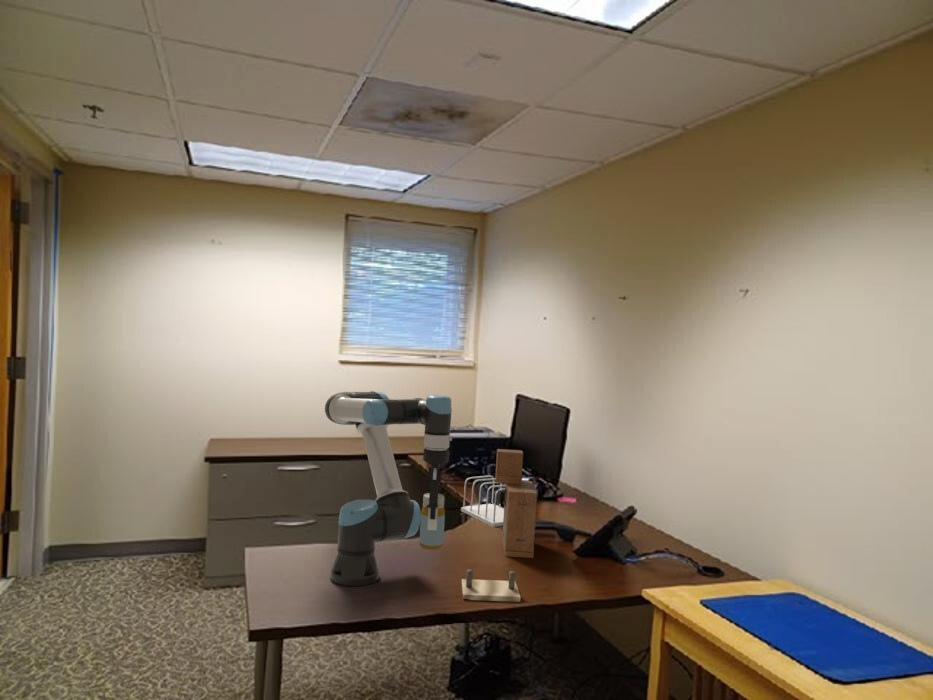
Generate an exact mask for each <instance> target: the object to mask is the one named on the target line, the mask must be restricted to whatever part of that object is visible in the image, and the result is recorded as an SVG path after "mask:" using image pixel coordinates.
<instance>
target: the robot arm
mask: <svg viewBox="0 0 933 700" xmlns="http://www.w3.org/2000/svg"><path fill="white" fill-rule="evenodd" d="M324 413H325V416H326V417H327V419H328V420H329V421H330V422H332V423H334V424H337V425H341V426H354V425H355V428H356V432H357V433H358V434H360V435H361V436H362V438H363V443H364V447H365V451H366V454H367V459H368V464H369V468H370V472H371V477H372V479H373V484H374V488H375V492H376V498H375V499H369V498H368V499H363V498H362V499H355V500H351V501H349V502H347V503H345V504H344V505H342V506H341V508H340V510H339V517H338V521H337V522H338V528H337V529H338V530H337V531H338V533H337V535H338V536H337V551H336V555H335V557H334V561H333V562H332V566H331V568H330V575H329V577H330V580H331V581H332V582H334V583H335V584H338V585H342V586H349V587H360V586H361V587H362V586H368V585H371V584H373V583H375V582H377V581H378V580H379V578H380V567H379V563H378V559H377V557H376V551H375V550H376V543H379V542H385V541H394V540H403V539H406V538H412V537H414V536H415V535H416V534H417V532H418V531H419V529H420V525H421V507H420V505H419V503H418V502H417V501H416V500H414V499H410V496H409V492H408V491H406V490H404V489H403V486H402V482H401V480H400V476H399V472H398V468H397V464H396V460H395V456H394V452H393V449H392V446H391V441H390V437H389V434H388V430H387V429H388V427H389V425H391V426H393V425H423V426H424V434H423V435H424V437H423V447H425V448H424V449H423V455H422V460H423V462H425V463H428V464H431V466H429V467H428V484H429V493H430V495H429V504H428V505H426V508H428V526H427V530H437V514H438V494H440V493H439V487H440V485H441V483H442V482H441V480H442V479H441V478H442V474H443V467H441V464H446V463H448V462H449V461H450V459H449V458H450V450H449V448H450V442H451V441H453V438H452V437H450V435H451V424H452V422H451V421H452V413H453V409H452V398H450V396H447V395H438V394H435V395H434V394H432V395H431V394H430V395H428V396H426V399H423V398H421V397H418V398H417V397H412V398H409V399H408V398H406V399H405V398H404V399H394V398H392V399H390V398H389V397H388V395H387V394H386V393H383V392H380V391H374V390H373V391H342V392H337V393H335V394H333V395H331V396H329V398H328V399H327V400H326V402H325V405H324Z"/></svg>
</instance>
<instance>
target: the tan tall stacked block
mask: <svg viewBox="0 0 933 700" xmlns="http://www.w3.org/2000/svg"><path fill="white" fill-rule="evenodd" d="M523 459H524V452H523V450H519V449H500V448H497V449H496V460H495V461H496V462H495V463H496V464H495V477H494V478H495V480H494V481H495V482H497V483H496V484H501V483H502V484H504V485H505V486H504V488H505V490H502V491H501V490H499V489H497V490H498V493H497V496H496V505H499V504H500V503H501V504H503V508H504V518H503V526H502V534H501V541H502V547H503V553H504V557H509V558H510V557H514V558H527V559H528V558H531V559H534V555H535V554H534V552H535V533H536V531H535V530H536V518H537V517H536V516H537V515H536V514H537V501H538V499H537V497H538V493H537V490H536V488H535V484H534V482H533V481H532V480H522V477H523V463H524V462H523V461H524V460H523Z"/></svg>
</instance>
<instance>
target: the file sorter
mask: <svg viewBox="0 0 933 700" xmlns="http://www.w3.org/2000/svg"><path fill="white" fill-rule="evenodd" d="M471 479H475V480H474V481H473V484H472V488H471V497H470V498H471V500H470V505H467V506H465V505H466V493H467V492H466V489H467V488H466V487H467V482H468V481H469V480H471ZM480 481H481V482H482V481H487V482H483V483H482V484H481V485H480V486H479V493H478V504H476V505H473V501H474V489H475V484H476V483H477V482H480ZM490 484H491V486H489V487H488V488H487V491H486V503H484V504H481V494H482V487H483V486H484V485H490ZM495 484H497V485H495ZM463 485H464V490H463V503H462V504H463V506H462V507H460V511H461V512H462V513H464V514H466V515H469V516H470V517H472V518H474V519H476V520H478V521H480V522H482V523H484V524H486V525H487V526H490V527H493V528H495V527H503V518H504V507H502V506H501V504H502V503H500V504H497V493H498V490H501V491H502V492H503V491H504V490H505V485H506V484H503V483H500V484H499V485H498V483H497V482H496V480H495V477H494V476H493V475H480V476H479V475H478V476H471V477H467V478H466V479H465V481H464V484H463ZM495 488H498V489H497V490H496V492H495ZM490 489H492V490H491V492H492V493H491V503H492V504H491V503H489V493H490V492H489V491H490ZM494 492H495V494H494Z"/></svg>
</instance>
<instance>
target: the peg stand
mask: <svg viewBox="0 0 933 700" xmlns="http://www.w3.org/2000/svg"><path fill="white" fill-rule="evenodd" d="M508 573H509V574H508V575H509V576H508V580H499V579H497V580H496V579H494V580H493V579H476V578H475V579H473V576H474V570H473V569H471V568H469V569H466V578H462V579H461V581H460V583H461V593H462V594H463V595H462V600H463V599H469V600H468V601H491V602H493V601H494V602H516V603H518V602H519V603H521V599H522V598H521V594H520V591H519V587H518V585H517V582H516V572H515V571H513V570H510V571H509V572H508Z"/></svg>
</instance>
